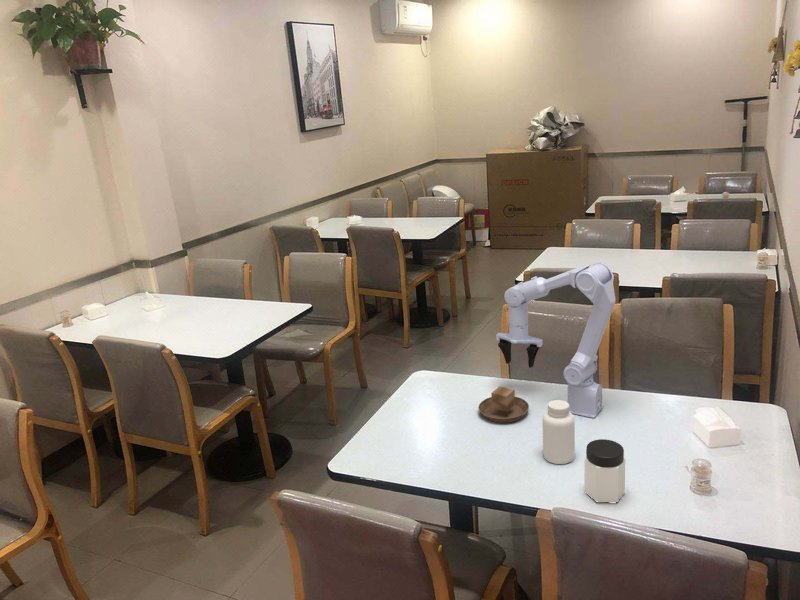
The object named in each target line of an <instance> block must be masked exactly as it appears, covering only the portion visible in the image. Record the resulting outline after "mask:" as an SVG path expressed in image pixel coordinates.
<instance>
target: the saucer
mask: <svg viewBox="0 0 800 600" xmlns="http://www.w3.org/2000/svg"><path fill="white" fill-rule="evenodd" d="M529 409H530V405H529V403H528V402H527V401H526V400H525V399H523V398H521V397H519V396H515V405H514V406H513V407H512V408H511V409H510V410H509V411H508V412H505V411H501V410H497V409H493V408H492V397H491V396H490V397H488V398H485V399H483V400H482V401H481V402H480V403H479V404H478V410H479V412H480V414H481V415H482V416H483V417H484V418H486V419H488V420H489V421H492V422H495V423H501V424H502V423H512V422H515V421H518V420H520V419H521V418H523V416H524V415H526V414H527V412H528V410H529Z"/></svg>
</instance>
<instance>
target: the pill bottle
mask: <svg viewBox="0 0 800 600" xmlns="http://www.w3.org/2000/svg"><path fill="white" fill-rule="evenodd" d="M569 410H570V405H569V404H568V401H566V400H562V399H554V400H551V401H549V402H548V403H547V411H546V412H544V414H543V416H542V419H541V420H542V423H541V424H542V455H543V457H544V460H545V461H547V462H549V463H551V464H555V465H565V464H570V463H571V462H572V461H573V460H575V455H576V454H575V452H576V451H575V450H576V449H575V448H576V446H575V445H576V444H575V443H576V442H575V438H576V437H575V434H576V433H575V432H576V431H575V429H576V427H575V426H576V425H575V424H576V423H575V420H576V419H575V417H574V414H572V413H570V412H569Z"/></svg>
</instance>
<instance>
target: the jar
mask: <svg viewBox="0 0 800 600" xmlns="http://www.w3.org/2000/svg"><path fill="white" fill-rule="evenodd" d="M624 451H625V450H624V447H623V445H621V444H620V443H619V442H616V441H615V440H611V439H606V438H605V439H604V438H603V439H602V438H601V439H595V440H592V441H590V442H588V443H587V445H586V450H585V454H586V456H585V457H584V478H583V479H584V487H583V488H584V489H583V490H584V491H583V492H584V493H585V492H586V493H587V494H588V495H589V496H591V498H590V499H592V498H593V499H594V500H595V501H598V502H618V503H619V501H620V500H621V499H622V498H623V496H624V495H625V492H626V491H625V486H626V484H625V483H626V458H625V452H624ZM586 493H585V494H586ZM587 494H586V495H587ZM623 494H624V495H623ZM588 495H587V496H588ZM622 495H623V496H622ZM589 496H588V497H589ZM620 498H621V499H620ZM593 499H592V500H593ZM619 499H620V500H619ZM594 500H593V501H594ZM595 501H594V502H595Z"/></svg>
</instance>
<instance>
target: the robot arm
mask: <svg viewBox="0 0 800 600" xmlns="http://www.w3.org/2000/svg"><path fill="white" fill-rule="evenodd" d="M614 277H615V275H614V274H613V272H612V270H611V269H610V268H609V266H608V265H606V264H605V263H603V262H596V263H593V264H592V265H591V264H588V265H583V266H579V267H576V268H573V269H570V270H568V271H565V272H563V273H560V274H558V275H555V276H552V277H549V278H544V277H542V276H537V275H536V276H533V277H531V278H530V280H527V281H525V282H523V281H521V282H518V283H517V284H516V285H513V286H512V287H509V288H508V289H507V290H505V292H504V300H505V303H506V304H507V305H508V307H507V308H508V330H509V331H508V332H506V333H505V332H498V333H496V334H495V339H496V341H499V342H498V343H497V346H498V348H499V349H500V351H501V352H502V354H503V358H504V360H505V363H506V364H508V365H509V364H510V363H511V362H512V344H516V345H517V344H523V345H529V346H528V347H526V352H527V358H528V364H527V365H528V368H530V369H532V368H533V367H534V364H535V361H536V357H537V354H538V352H539V351H540V350H539V349H541V348H540V347H542V346H543V342H544V341H543V339H542V338H538V337H534V336H532V335H529V311H528V309H529V308H528V306H529V302H531V301H534V300H537V299H540V298H543V297H546V296H548V295H549V293H550V291H552V290H554V289H558V288H562V287H564V286H565V287H566V286H567V285H570V286H571V287H572V288H574V289H576V288H577V289H578V290H579V291H580V292H581V293H582V294H584V296H585V297H587V299H589V301H590V302H591V303H592V304H593V306H592V308H591V311H590V314H589V317H588V320H587V322H586V325H585V329H584V331H583V333H582V337H581V339H580V343H579V344H578V347H577V351H576V353H575V354H574V356H573V357H572V358H571V359H570V362H569V364H568V365H567V366H565V368H564V370H563V378H564V380H565V381H566V382H567V403H568V404H569V405H570V410H569V412H570V413H571V414H572V415H578V416H582V417H588V418H592V419H595V418H596V417H597V415H598V414H599V413H600V412H601V411H602V410H603V407H604V405H603V385H602V384H601V383H600V384H599V383H597V382H596V381H594V374H595V373H596V372H597V370H598V364H597V361H598V358H599V356H598V355H597V353H598V350H599V348H600V346H601V345H600V344H601V342H602V339H603V337H604V334H605V331H606V328H607V327H608V323H609V320H610V318H611V316H612V312H613V310H614V307H615V304H616V299H617V298H616V293H615V288H614V280H615V278H614Z"/></svg>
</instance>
